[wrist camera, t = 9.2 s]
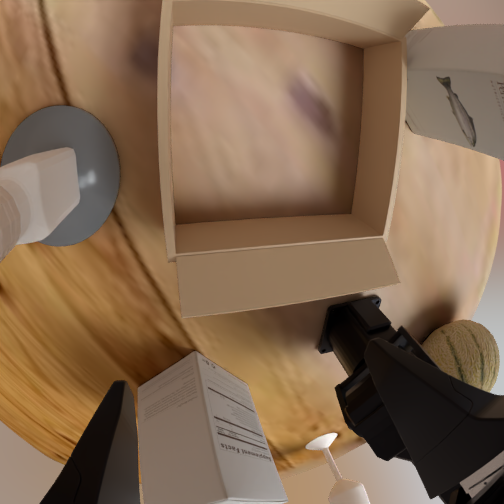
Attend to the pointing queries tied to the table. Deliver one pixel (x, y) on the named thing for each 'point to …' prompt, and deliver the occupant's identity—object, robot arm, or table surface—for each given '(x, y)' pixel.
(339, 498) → the champagne flute
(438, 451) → the robot arm
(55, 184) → the salt shaker
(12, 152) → the coaster
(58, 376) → the table surface
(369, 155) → the carton
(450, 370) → the cantaloupe
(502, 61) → the supplement box
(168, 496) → the supplement box
